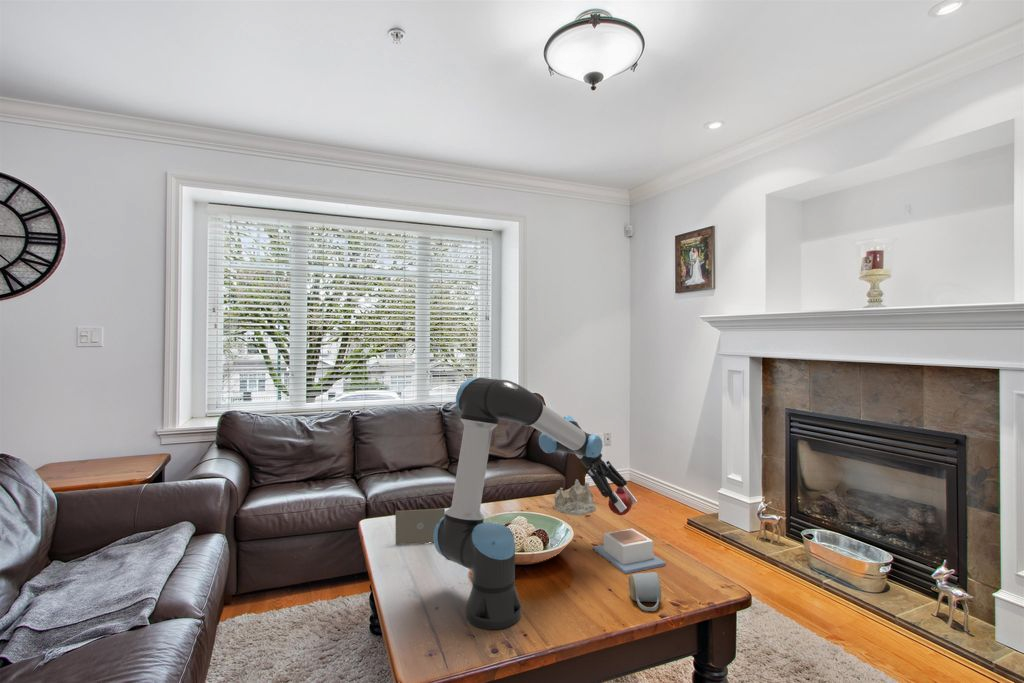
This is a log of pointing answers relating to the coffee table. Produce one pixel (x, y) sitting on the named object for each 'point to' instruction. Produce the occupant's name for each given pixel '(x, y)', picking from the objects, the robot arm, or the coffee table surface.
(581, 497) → the miniature stone castle
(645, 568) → the pedestal board
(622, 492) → the fruit
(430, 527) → the laptop
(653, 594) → the ceramic mug
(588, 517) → the coffee table surface
